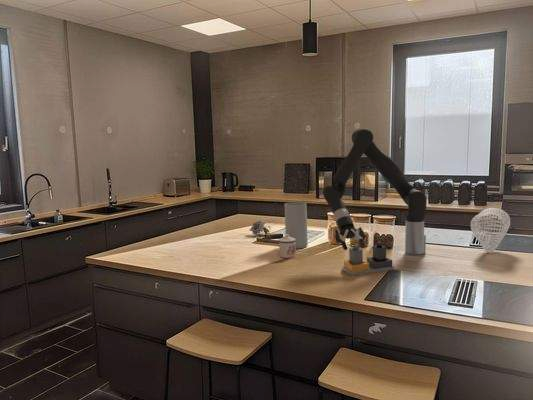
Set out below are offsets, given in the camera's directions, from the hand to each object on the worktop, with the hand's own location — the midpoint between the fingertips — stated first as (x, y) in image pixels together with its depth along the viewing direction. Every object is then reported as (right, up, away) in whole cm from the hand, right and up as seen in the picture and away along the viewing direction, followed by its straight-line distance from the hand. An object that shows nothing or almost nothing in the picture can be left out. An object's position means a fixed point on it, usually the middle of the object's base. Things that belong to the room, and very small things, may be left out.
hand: (354, 248), depth 195 cm
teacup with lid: (-29, -8, +31) cm, 43 cm away
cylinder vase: (-23, -5, +49) cm, 54 cm away
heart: (+73, -5, +20) cm, 76 cm away
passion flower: (-45, -1, +82) cm, 94 cm away
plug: (+1, -9, 0) cm, 9 cm away
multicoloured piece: (+6, -10, +2) cm, 12 cm away
